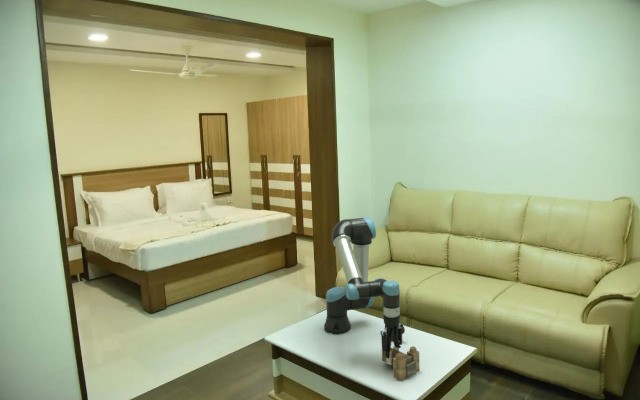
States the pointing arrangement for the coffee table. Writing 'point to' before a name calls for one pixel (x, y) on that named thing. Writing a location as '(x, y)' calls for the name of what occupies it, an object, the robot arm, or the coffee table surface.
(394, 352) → the rail
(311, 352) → the coffee table surface
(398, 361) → the knobbed wooden twin blocks
